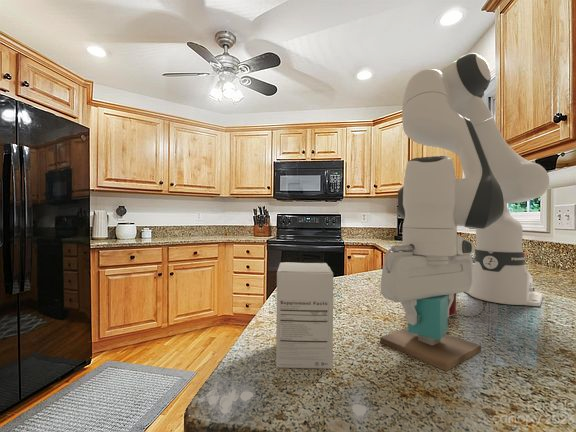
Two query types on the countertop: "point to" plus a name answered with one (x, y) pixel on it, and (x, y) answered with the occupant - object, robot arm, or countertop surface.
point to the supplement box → (304, 316)
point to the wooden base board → (432, 348)
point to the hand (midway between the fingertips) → (428, 320)
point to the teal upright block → (431, 317)
